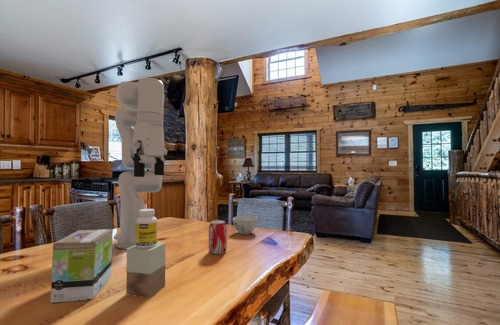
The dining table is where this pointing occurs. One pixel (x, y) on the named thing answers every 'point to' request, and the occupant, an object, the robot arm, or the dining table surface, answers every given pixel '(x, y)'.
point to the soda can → (217, 237)
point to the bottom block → (145, 283)
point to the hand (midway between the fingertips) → (149, 175)
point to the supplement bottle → (146, 229)
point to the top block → (145, 258)
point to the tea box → (81, 265)
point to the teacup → (245, 224)
